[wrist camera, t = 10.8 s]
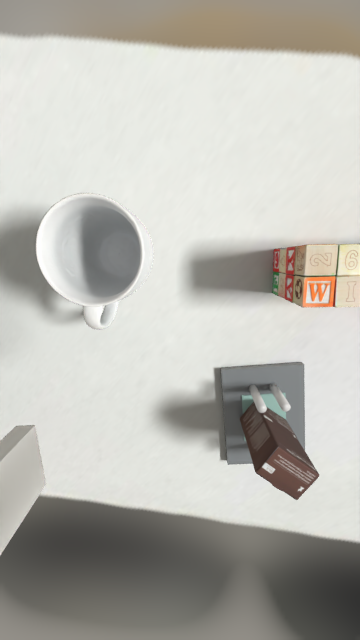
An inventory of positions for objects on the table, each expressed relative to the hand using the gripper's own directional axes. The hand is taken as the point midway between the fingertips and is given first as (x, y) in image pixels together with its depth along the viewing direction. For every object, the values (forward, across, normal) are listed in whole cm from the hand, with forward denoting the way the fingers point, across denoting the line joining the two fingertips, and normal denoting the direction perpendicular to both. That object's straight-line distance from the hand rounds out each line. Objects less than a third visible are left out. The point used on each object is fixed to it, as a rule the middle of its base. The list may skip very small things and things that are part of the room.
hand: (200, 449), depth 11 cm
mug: (+31, -10, +8) cm, 34 cm away
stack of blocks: (+31, +22, +4) cm, 38 cm away
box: (+30, +10, -17) cm, 36 cm away
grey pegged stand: (+31, +10, -17) cm, 37 cm away
